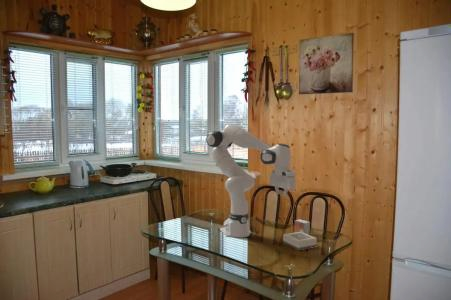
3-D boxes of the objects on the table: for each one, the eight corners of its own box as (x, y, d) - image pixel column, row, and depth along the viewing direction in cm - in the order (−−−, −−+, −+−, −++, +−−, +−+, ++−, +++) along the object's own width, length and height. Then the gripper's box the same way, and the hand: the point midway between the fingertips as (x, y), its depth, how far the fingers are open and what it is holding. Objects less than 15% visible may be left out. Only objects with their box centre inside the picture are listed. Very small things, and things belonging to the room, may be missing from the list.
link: (283, 240, 210) (283, 234, 210) (300, 237, 217) (301, 231, 216) (298, 247, 198) (298, 241, 197) (316, 244, 204) (316, 238, 204)
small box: (293, 236, 225) (294, 220, 224) (299, 234, 228) (300, 218, 228) (303, 239, 219) (304, 223, 218) (309, 237, 222) (310, 221, 222)
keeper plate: (284, 243, 209) (284, 230, 209) (301, 240, 216) (302, 228, 215) (299, 251, 197) (299, 237, 196) (317, 247, 204) (318, 234, 203)
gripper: (267, 169, 207) (266, 192, 208) (288, 174, 189) (287, 198, 190) (275, 169, 210) (274, 191, 211) (297, 173, 192) (296, 198, 193)
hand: (281, 195), depth 200 cm, fingers open, 5 cm apart
